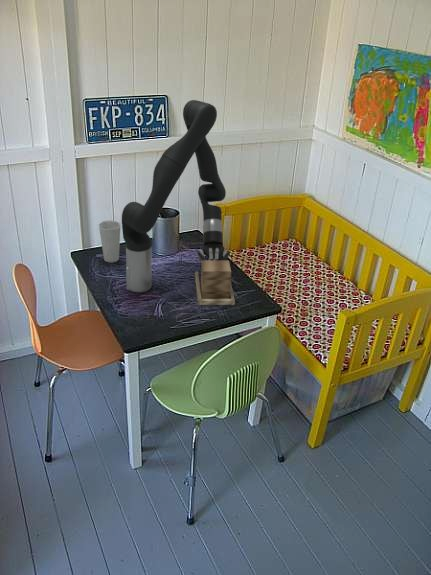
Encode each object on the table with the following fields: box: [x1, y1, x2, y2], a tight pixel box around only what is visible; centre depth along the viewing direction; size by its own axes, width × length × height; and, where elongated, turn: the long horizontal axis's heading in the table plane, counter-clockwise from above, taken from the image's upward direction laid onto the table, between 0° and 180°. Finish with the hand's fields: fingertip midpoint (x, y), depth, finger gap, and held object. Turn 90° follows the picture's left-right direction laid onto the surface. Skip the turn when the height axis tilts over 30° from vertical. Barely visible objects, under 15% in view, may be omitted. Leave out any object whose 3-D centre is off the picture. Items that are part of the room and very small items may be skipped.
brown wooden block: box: [200, 259, 232, 299], centre depth 200 cm, size 10×8×12 cm
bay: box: [194, 271, 236, 306], centre depth 206 cm, size 18×21×3 cm
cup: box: [98, 220, 122, 264], centre depth 220 cm, size 8×8×16 cm
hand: (213, 276), depth 205 cm, fingers closed
